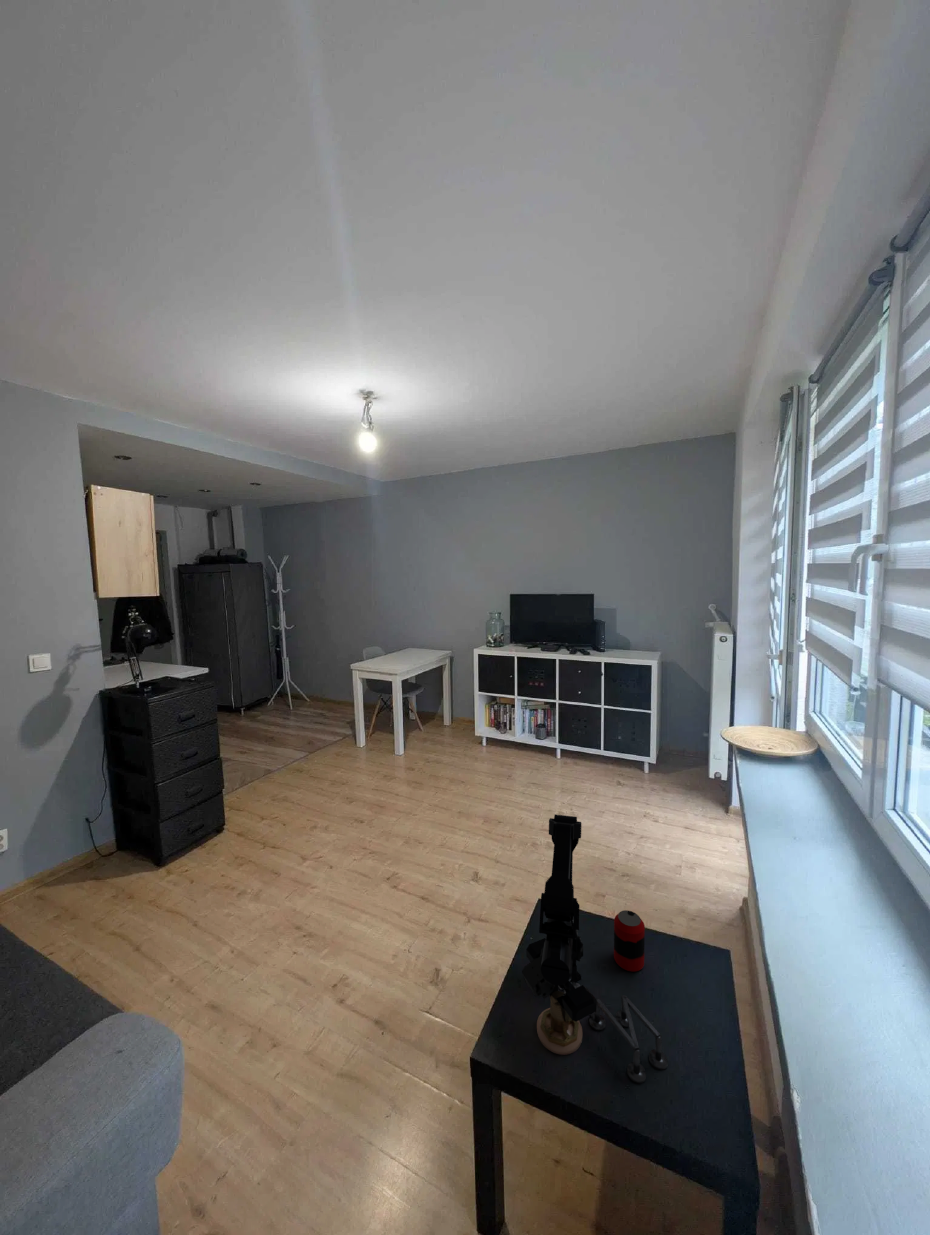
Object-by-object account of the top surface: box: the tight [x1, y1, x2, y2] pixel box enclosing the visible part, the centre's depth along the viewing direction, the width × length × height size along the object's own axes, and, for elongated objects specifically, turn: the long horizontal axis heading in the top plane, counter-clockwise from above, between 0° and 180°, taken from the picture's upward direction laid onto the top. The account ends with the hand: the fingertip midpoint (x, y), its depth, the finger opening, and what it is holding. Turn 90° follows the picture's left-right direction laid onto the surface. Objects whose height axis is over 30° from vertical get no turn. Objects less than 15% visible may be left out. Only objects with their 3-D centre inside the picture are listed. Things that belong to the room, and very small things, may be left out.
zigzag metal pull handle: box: [588, 994, 669, 1084], centre depth 101 cm, size 16×10×6 cm, turn 24°
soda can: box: [613, 909, 646, 973], centre depth 122 cm, size 8×8×12 cm
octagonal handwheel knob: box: [540, 990, 579, 1047], centre depth 104 cm, size 8×8×7 cm
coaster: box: [536, 1007, 583, 1056], centre depth 104 cm, size 10×10×1 cm
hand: (559, 1010), depth 104 cm, fingers open, 5 cm apart
